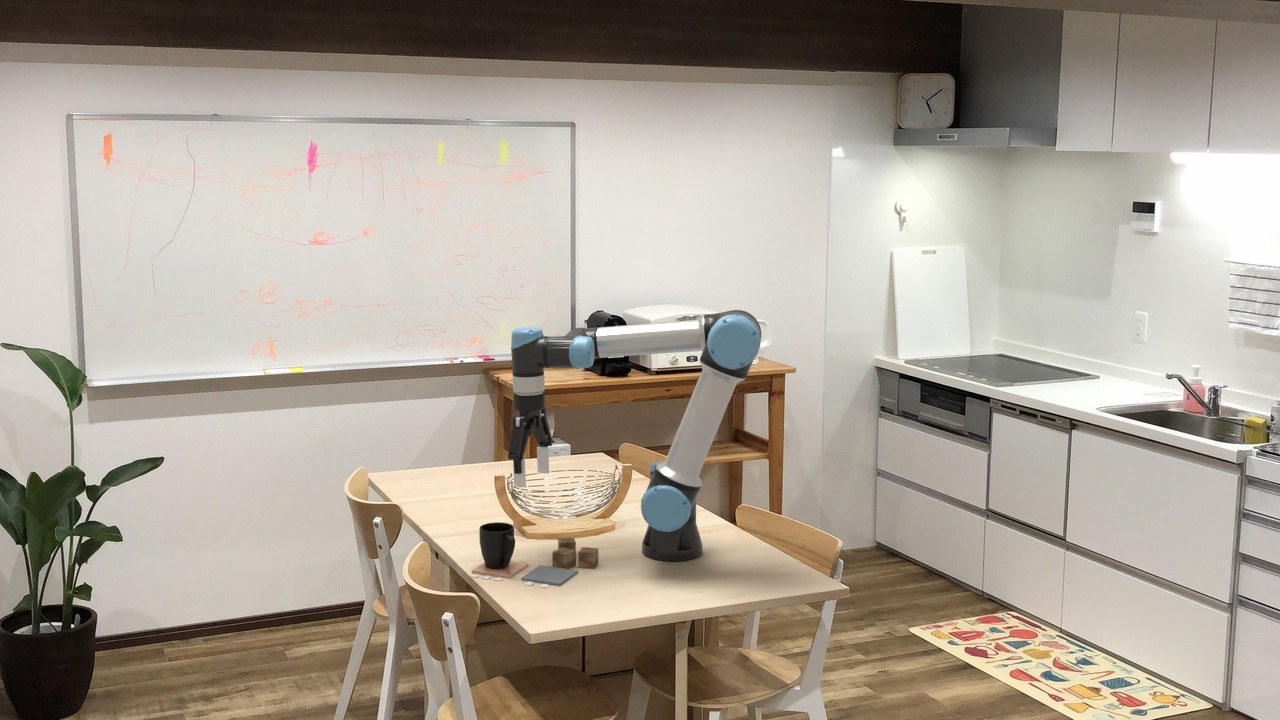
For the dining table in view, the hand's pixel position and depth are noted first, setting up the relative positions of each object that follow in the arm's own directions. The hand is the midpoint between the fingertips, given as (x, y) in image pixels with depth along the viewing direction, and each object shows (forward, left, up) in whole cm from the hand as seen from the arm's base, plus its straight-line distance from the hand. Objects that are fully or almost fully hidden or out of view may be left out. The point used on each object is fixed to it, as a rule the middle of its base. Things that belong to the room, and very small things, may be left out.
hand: (531, 479), depth 296 cm
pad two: (-9, +9, -21) cm, 24 cm away
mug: (+4, +9, -20) cm, 22 cm away
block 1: (-6, -8, -21) cm, 23 cm away
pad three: (+4, +9, -21) cm, 23 cm away
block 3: (-14, -3, -21) cm, 25 cm away
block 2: (-9, 0, -21) cm, 22 cm away
